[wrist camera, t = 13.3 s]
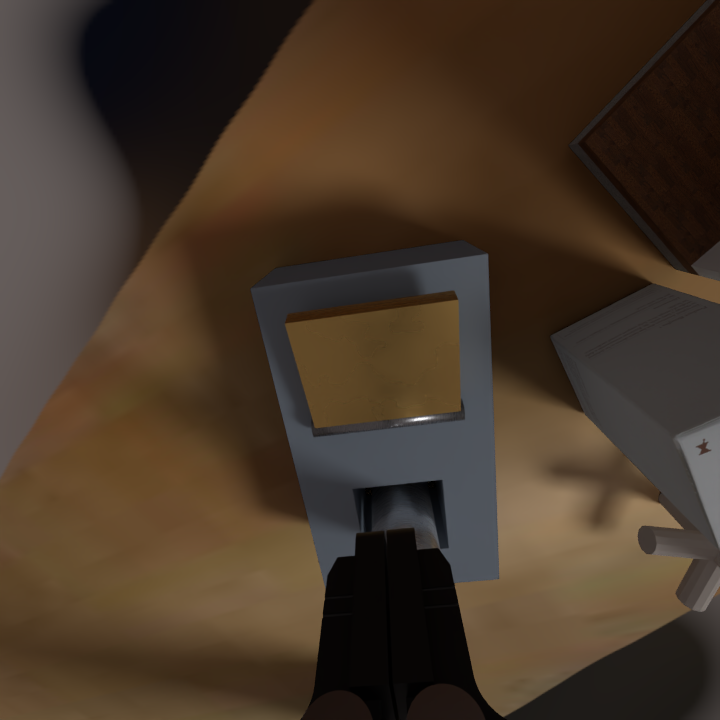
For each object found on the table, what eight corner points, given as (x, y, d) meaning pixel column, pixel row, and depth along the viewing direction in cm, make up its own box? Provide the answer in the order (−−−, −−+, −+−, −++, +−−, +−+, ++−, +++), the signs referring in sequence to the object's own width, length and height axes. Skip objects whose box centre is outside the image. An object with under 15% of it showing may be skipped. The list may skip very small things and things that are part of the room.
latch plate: (460, 410, 24) (465, 424, 23) (316, 427, 24) (314, 442, 23) (457, 288, 20) (463, 300, 19) (283, 313, 20) (280, 325, 19)
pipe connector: (588, 538, 35) (667, 665, 25) (630, 436, 31) (740, 542, 22) (706, 550, 35) (827, 680, 26) (762, 450, 31) (927, 560, 22)
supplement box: (583, 417, 30) (715, 559, 19) (546, 333, 28) (671, 436, 16) (687, 371, 29) (902, 495, 17) (657, 278, 27) (883, 349, 15)
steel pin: (425, 481, 33) (460, 671, 20) (375, 486, 33) (377, 676, 20) (420, 438, 31) (455, 613, 18) (368, 444, 32) (365, 620, 19)
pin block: (478, 515, 34) (499, 579, 29) (333, 529, 35) (326, 593, 29) (463, 239, 26) (487, 253, 20) (275, 268, 27) (250, 288, 21)
